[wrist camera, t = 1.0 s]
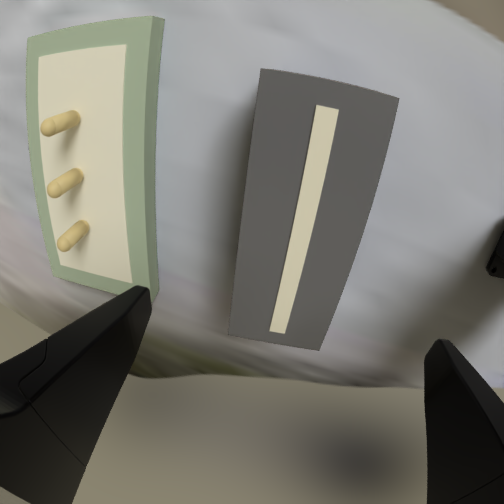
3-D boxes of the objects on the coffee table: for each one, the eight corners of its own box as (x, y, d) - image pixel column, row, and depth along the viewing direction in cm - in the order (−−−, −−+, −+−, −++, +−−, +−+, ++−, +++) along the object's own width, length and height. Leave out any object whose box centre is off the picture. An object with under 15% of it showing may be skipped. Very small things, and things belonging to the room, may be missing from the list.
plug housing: (371, 89, 14) (400, 98, 9) (318, 293, 21) (318, 352, 17) (273, 69, 14) (260, 68, 10) (243, 279, 21) (227, 336, 17)
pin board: (164, 18, 13) (122, 8, 9) (159, 289, 23) (134, 333, 19) (43, 36, 13) (-8, 41, 10) (63, 265, 23) (32, 299, 20)
